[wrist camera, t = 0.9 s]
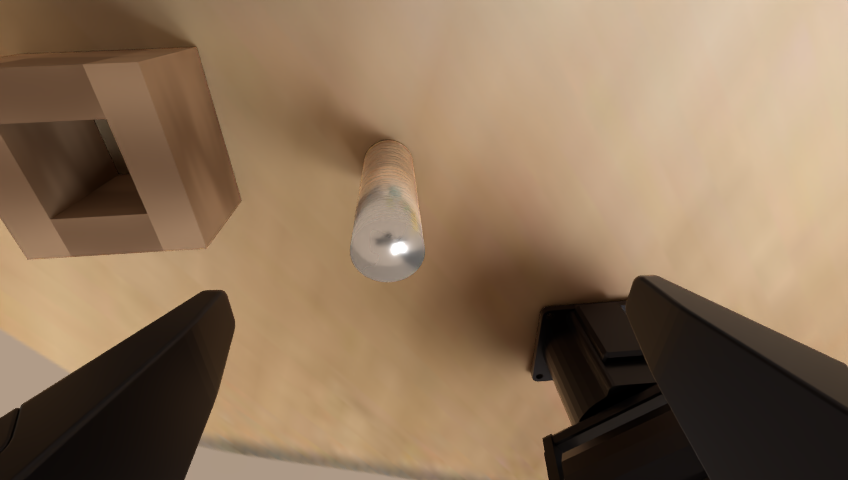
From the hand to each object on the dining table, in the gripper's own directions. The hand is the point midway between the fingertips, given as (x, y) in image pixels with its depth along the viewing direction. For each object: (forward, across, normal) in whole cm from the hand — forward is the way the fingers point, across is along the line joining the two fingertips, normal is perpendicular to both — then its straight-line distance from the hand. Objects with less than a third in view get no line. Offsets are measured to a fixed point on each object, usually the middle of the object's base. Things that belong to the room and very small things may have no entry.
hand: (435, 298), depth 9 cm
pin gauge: (+12, +1, +1) cm, 12 cm away
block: (+12, +12, 0) cm, 17 cm away
